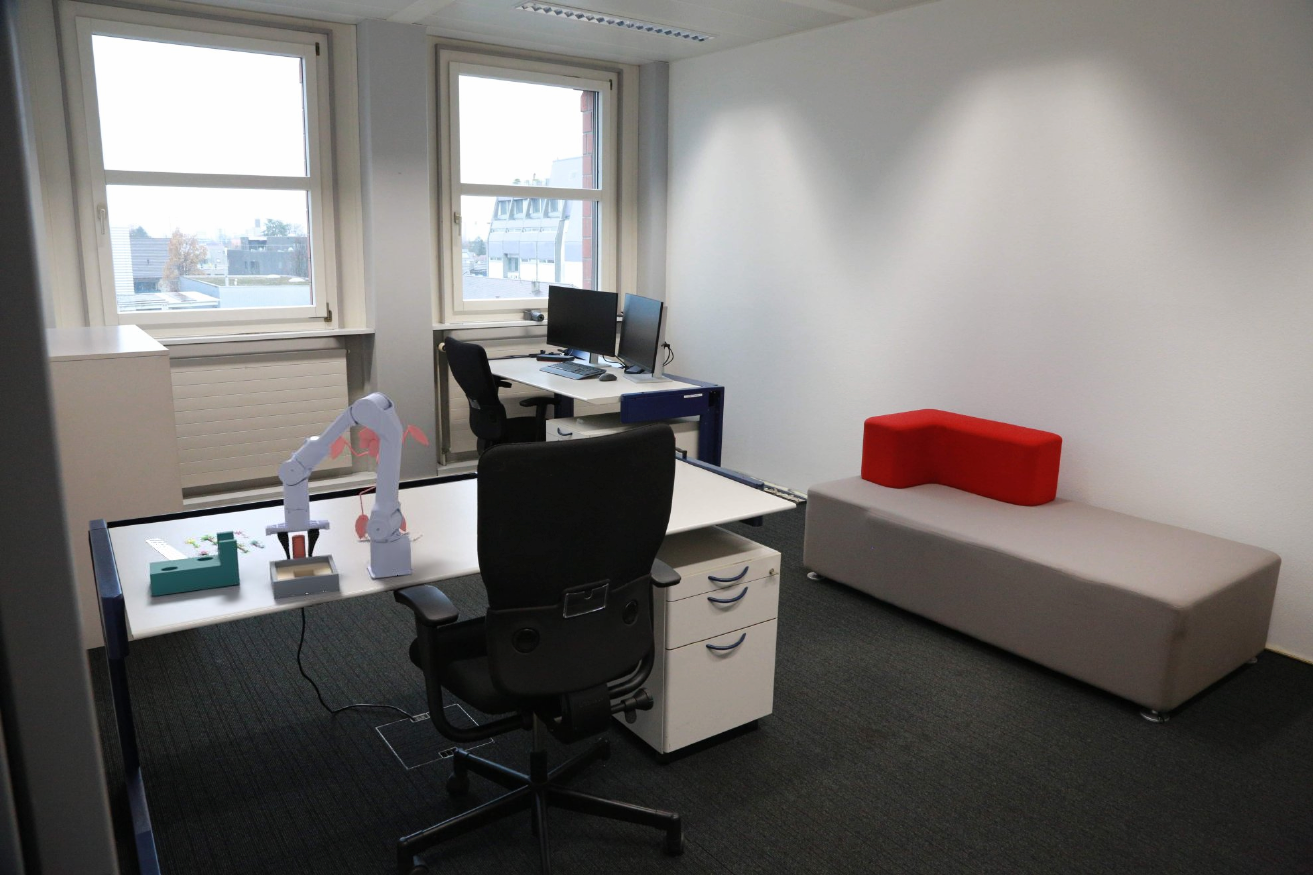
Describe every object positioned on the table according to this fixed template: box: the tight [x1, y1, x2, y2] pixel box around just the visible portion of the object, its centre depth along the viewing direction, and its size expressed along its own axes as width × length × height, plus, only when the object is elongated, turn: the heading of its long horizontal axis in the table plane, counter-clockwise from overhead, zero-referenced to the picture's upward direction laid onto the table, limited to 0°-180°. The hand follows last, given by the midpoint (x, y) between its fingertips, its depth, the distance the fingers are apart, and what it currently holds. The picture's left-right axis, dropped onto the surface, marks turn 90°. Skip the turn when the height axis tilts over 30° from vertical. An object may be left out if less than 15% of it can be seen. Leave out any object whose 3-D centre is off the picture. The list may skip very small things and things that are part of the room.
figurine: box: [329, 420, 429, 543], centre depth 241 cm, size 15×26×35 cm, turn 123°
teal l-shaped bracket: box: [149, 530, 241, 597], centre depth 208 cm, size 18×11×10 cm, turn 119°
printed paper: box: [145, 530, 266, 561], centre depth 236 cm, size 30×30×2 cm
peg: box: [291, 534, 307, 559], centre depth 221 cm, size 3×3×8 cm
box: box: [269, 554, 340, 599], centre depth 211 cm, size 14×14×4 cm
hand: (299, 559), depth 221 cm, fingers open, 4 cm apart
